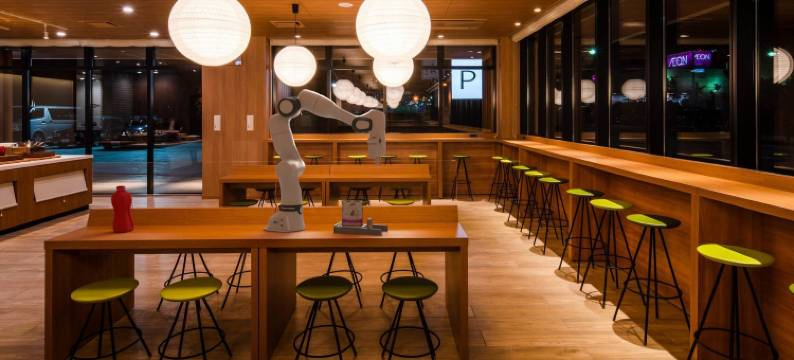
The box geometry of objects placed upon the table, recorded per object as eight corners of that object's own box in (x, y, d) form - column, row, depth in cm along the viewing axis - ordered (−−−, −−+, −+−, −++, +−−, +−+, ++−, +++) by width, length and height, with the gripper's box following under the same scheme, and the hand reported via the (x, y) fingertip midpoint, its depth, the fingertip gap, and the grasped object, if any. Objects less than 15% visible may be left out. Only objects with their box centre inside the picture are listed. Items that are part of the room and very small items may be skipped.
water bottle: (127, 233, 282) (124, 187, 279) (109, 232, 284) (106, 186, 281) (139, 230, 291) (136, 184, 288) (122, 229, 293) (119, 184, 290)
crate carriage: (336, 231, 283) (336, 218, 282) (342, 228, 291) (342, 215, 291) (368, 233, 278) (368, 220, 277) (373, 230, 286) (373, 217, 286)
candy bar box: (361, 230, 288) (362, 200, 288) (362, 231, 283) (363, 201, 283) (341, 230, 287) (342, 200, 287) (341, 231, 282) (342, 200, 282)
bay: (333, 232, 282) (333, 225, 281) (341, 228, 293) (341, 221, 293) (381, 235, 275) (381, 227, 274) (387, 230, 286) (387, 223, 286)
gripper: (377, 138, 298) (377, 163, 299) (365, 140, 278) (366, 166, 280) (388, 139, 296) (388, 163, 297) (377, 140, 276) (377, 166, 278)
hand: (377, 165), depth 288 cm, fingers closed
